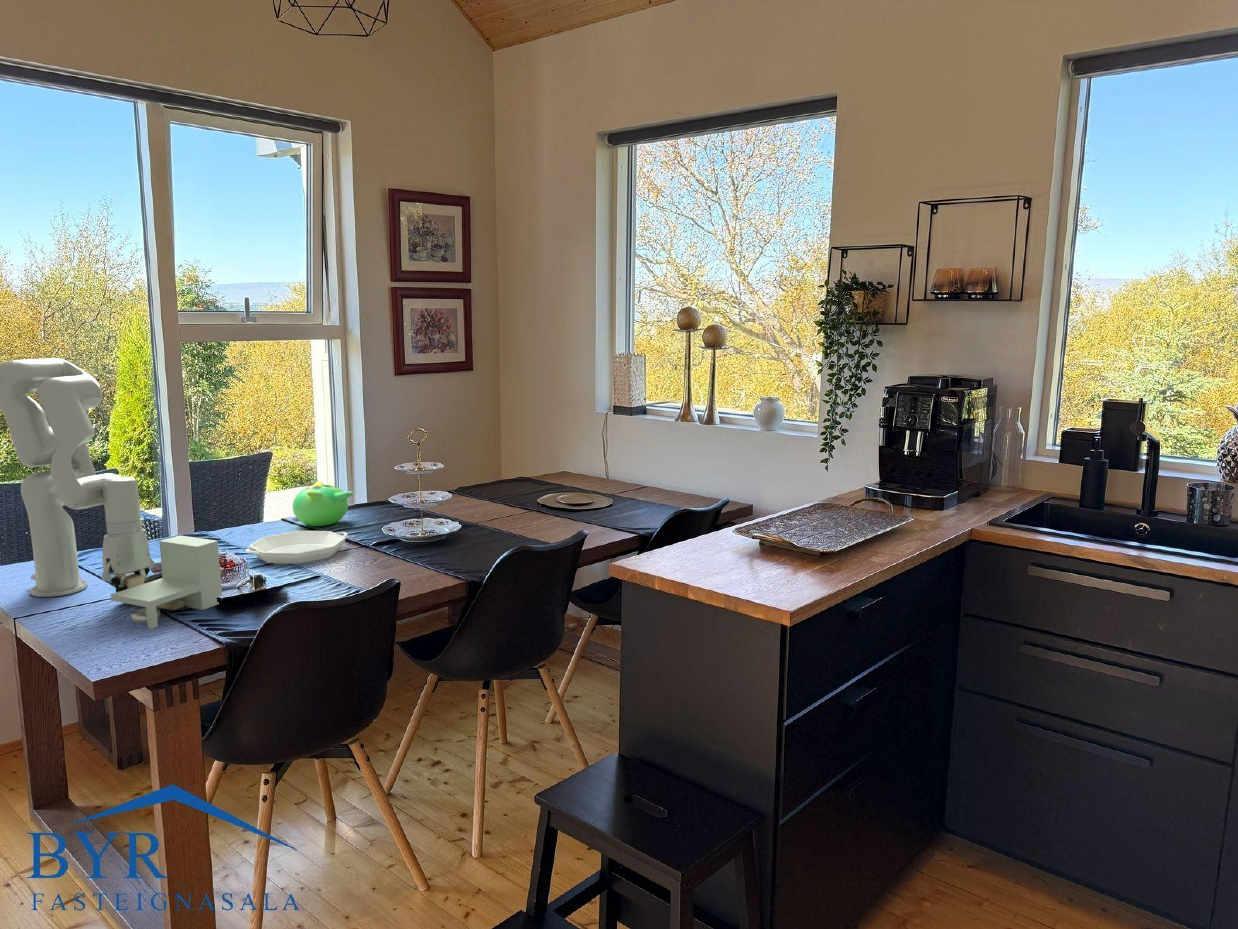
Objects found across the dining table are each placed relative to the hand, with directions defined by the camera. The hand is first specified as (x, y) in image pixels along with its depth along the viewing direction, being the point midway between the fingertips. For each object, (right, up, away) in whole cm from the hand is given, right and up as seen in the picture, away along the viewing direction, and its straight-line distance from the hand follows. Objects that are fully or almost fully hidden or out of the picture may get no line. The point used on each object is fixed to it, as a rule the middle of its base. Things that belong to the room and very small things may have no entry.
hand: (131, 597), depth 220 cm
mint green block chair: (+1, +2, +24) cm, 24 cm away
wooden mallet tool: (+6, -1, -3) cm, 7 cm away
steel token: (+10, -4, -11) cm, 15 cm away
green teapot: (+21, +12, +80) cm, 84 cm away
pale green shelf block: (+12, -2, -6) cm, 14 cm away
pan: (+26, +6, +45) cm, 52 cm away
